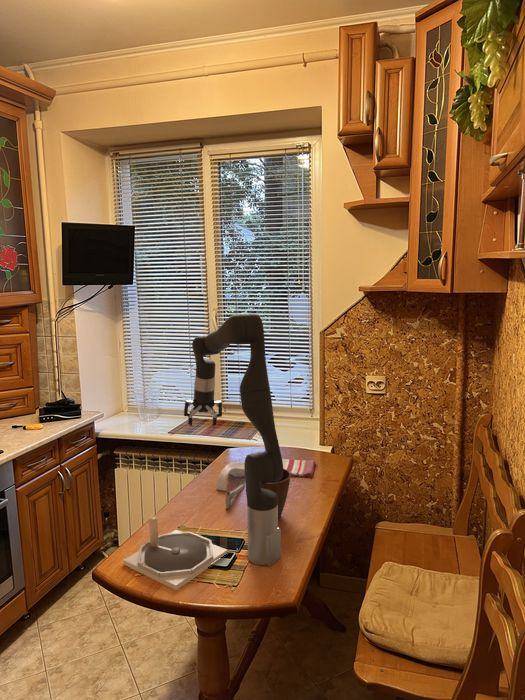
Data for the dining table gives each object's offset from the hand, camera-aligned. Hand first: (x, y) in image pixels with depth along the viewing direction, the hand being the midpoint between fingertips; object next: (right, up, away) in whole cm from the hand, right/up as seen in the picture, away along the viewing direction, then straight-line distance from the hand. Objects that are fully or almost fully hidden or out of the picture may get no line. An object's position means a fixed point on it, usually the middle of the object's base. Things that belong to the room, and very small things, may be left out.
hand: (202, 425), depth 197 cm
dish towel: (+34, -24, +29) cm, 51 cm away
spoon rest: (+11, -26, +18) cm, 33 cm away
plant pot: (+25, -31, -15) cm, 42 cm away
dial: (-3, -33, -41) cm, 53 cm away
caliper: (+13, -28, +2) cm, 31 cm away
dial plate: (-3, -35, -41) cm, 54 cm away
